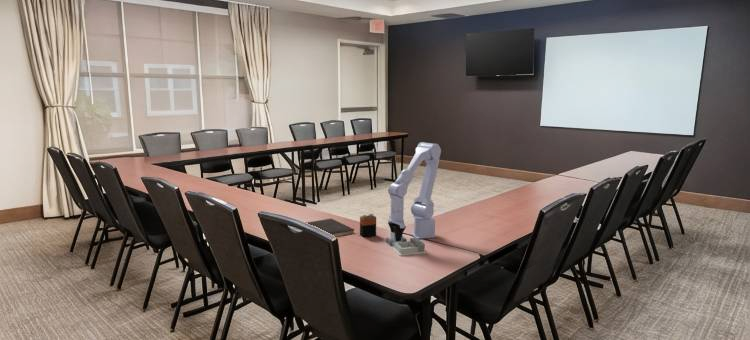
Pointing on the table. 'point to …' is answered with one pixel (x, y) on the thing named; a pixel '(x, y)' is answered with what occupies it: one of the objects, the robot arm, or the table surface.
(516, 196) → the table surface
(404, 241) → the holster
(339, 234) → the hardcover book
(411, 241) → the port
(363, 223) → the battery
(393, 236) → the plug
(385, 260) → the table surface
